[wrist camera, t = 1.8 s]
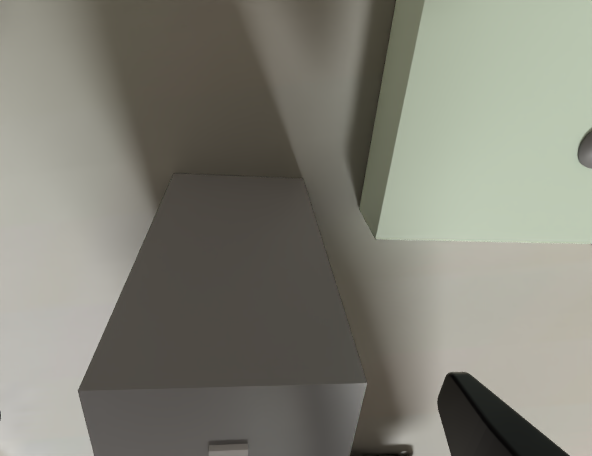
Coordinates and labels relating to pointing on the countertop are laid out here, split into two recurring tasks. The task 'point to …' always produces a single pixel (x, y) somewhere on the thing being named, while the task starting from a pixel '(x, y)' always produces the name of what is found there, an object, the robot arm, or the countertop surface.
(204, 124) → the countertop surface
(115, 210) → the countertop surface
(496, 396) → the robot arm
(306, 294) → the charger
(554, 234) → the outlet plate
